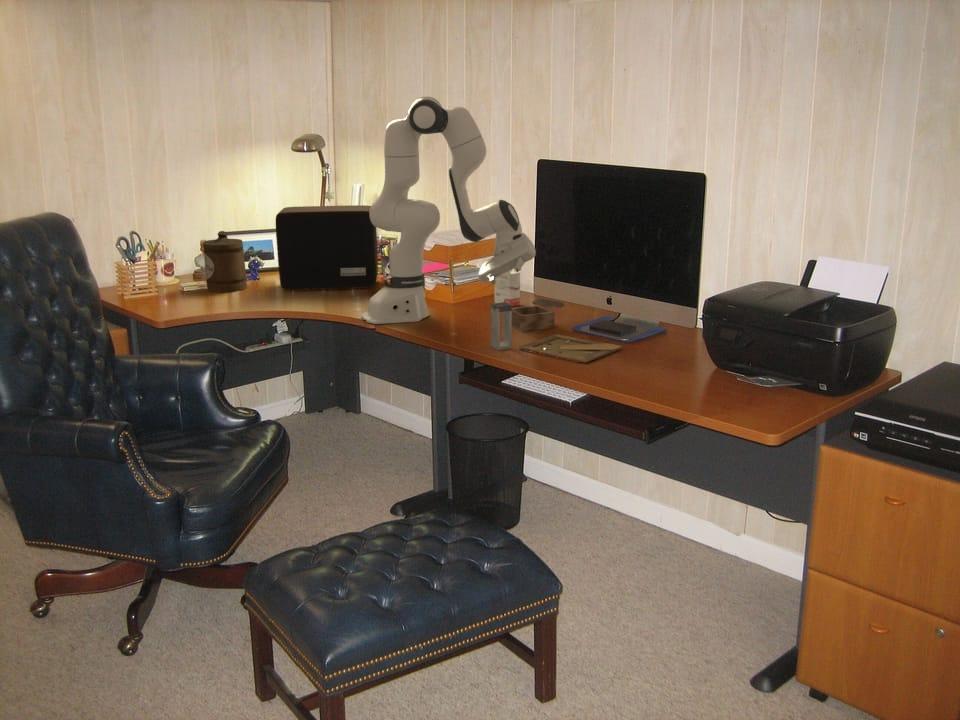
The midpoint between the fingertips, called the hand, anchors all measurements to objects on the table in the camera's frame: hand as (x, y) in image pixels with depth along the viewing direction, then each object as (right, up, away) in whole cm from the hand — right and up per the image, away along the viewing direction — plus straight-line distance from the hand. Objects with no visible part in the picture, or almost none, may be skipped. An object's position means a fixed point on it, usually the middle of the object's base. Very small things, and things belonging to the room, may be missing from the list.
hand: (505, 276), depth 297 cm
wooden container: (-105, +1, +66) cm, 124 cm away
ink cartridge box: (+2, -7, +35) cm, 36 cm away
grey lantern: (-2, -23, -17) cm, 29 cm away
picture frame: (+18, -24, -20) cm, 37 cm away
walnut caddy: (+8, -15, +6) cm, 18 cm away
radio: (-65, +2, +68) cm, 94 cm away
